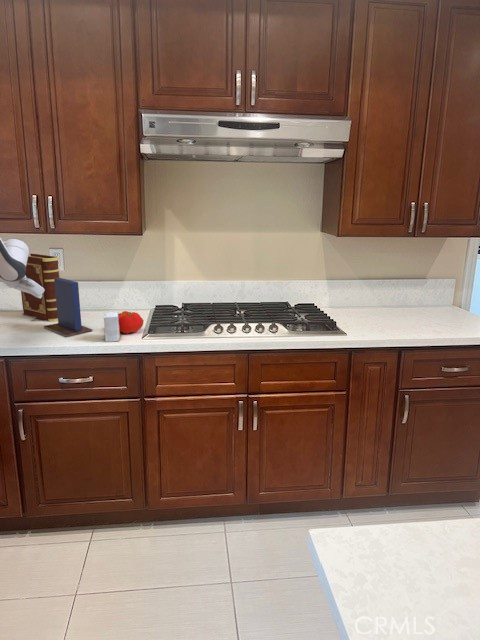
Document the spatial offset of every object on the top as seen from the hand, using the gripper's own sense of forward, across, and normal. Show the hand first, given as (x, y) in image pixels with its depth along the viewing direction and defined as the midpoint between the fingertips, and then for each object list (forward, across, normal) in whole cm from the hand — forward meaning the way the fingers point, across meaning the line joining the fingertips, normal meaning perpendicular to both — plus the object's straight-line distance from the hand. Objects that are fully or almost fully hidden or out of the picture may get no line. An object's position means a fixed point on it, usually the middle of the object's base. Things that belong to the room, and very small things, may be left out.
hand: (40, 296), depth 195 cm
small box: (+24, -26, 0) cm, 35 cm away
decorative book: (+22, +27, +2) cm, 35 cm away
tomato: (+32, -22, -8) cm, 40 cm away
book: (+19, -1, +3) cm, 19 cm away
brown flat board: (+19, -1, +4) cm, 20 cm away
